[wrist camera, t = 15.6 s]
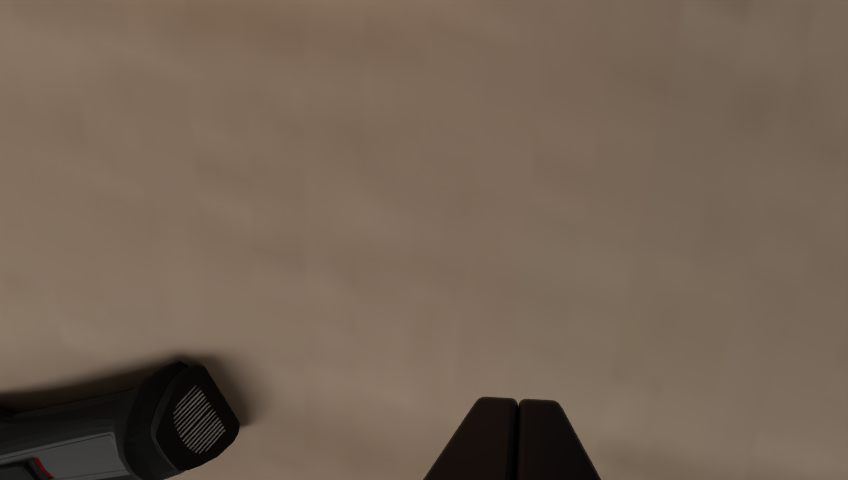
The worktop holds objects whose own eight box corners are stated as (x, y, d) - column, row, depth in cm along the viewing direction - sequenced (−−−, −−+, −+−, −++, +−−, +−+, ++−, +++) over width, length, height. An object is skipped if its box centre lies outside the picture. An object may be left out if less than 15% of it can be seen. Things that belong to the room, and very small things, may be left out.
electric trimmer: (-143, 410, 30) (-211, 476, 27) (200, 347, 25) (159, 418, 23) (-82, 476, 32) (-139, 544, 29) (249, 428, 27) (216, 502, 25)
